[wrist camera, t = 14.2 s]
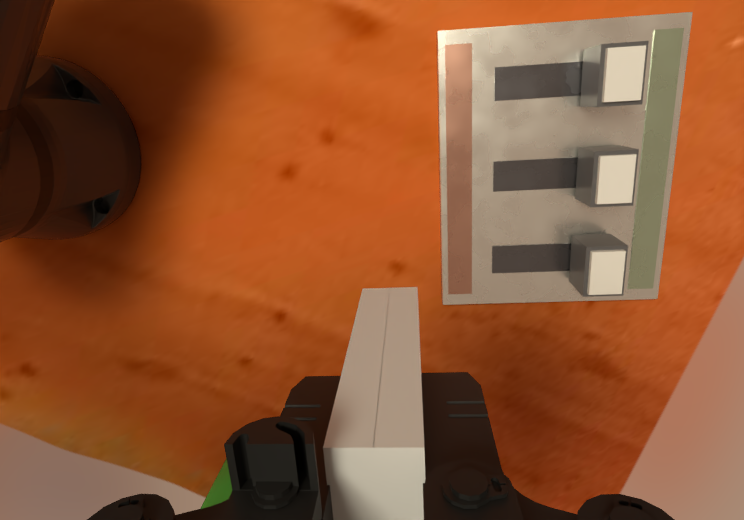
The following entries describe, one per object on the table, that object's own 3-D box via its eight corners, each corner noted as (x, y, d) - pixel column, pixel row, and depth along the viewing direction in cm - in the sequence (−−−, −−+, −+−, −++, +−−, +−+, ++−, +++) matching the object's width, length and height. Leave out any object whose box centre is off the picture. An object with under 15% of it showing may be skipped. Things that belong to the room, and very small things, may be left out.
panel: (441, 298, 45) (442, 305, 43) (436, 33, 38) (437, 31, 37) (649, 292, 43) (657, 299, 42) (681, 15, 37) (693, 11, 35)
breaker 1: (579, 106, 37) (598, 107, 33) (583, 49, 36) (603, 43, 32) (621, 104, 37) (644, 104, 33) (626, 46, 36) (651, 39, 32)
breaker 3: (568, 281, 41) (584, 298, 38) (571, 234, 40) (588, 248, 36) (605, 280, 41) (625, 297, 37) (610, 233, 40) (630, 246, 36)
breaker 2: (575, 198, 39) (592, 208, 36) (578, 147, 38) (596, 152, 34) (614, 196, 39) (635, 206, 35) (618, 145, 38) (641, 149, 34)
